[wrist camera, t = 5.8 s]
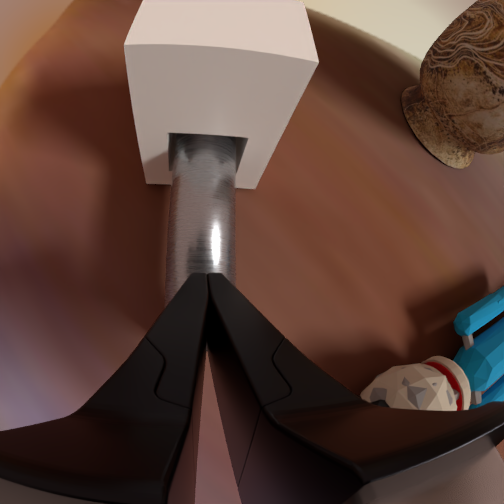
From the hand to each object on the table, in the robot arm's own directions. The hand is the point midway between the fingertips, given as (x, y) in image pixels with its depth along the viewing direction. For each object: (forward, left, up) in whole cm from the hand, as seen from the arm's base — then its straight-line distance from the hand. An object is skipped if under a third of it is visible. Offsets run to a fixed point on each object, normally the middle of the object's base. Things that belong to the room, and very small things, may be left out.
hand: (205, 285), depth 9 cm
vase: (+24, -8, -7) cm, 27 cm away
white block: (+7, +5, -7) cm, 11 cm away
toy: (+10, -19, -8) cm, 23 cm away
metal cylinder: (+5, +4, -7) cm, 9 cm away
